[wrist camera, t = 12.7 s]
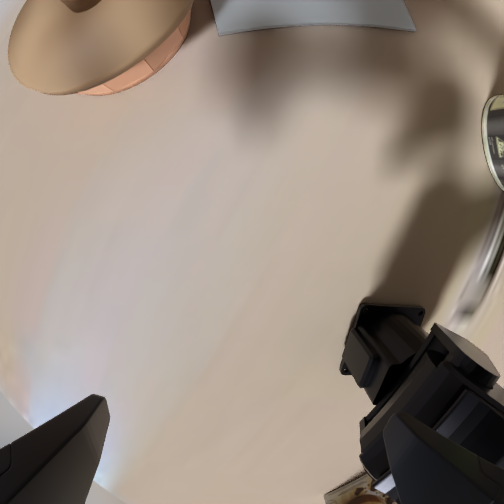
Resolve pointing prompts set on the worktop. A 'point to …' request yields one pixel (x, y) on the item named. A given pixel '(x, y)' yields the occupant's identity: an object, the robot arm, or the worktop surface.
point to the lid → (87, 40)
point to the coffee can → (494, 137)
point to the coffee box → (358, 493)
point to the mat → (309, 14)
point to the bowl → (145, 63)
